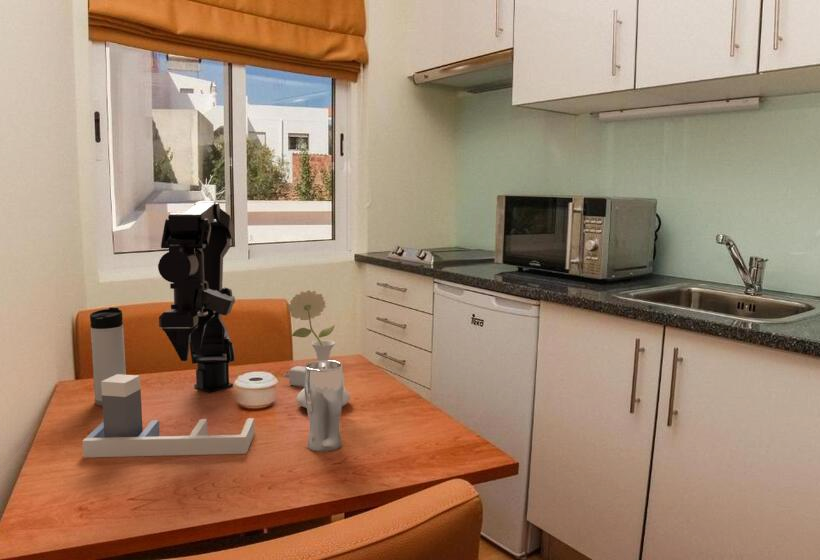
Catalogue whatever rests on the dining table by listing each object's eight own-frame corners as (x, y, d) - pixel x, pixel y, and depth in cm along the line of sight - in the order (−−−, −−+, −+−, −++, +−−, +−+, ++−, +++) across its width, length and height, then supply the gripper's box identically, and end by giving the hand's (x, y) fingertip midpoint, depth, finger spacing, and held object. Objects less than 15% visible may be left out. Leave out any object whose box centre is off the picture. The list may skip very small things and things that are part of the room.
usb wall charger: (305, 388, 147) (305, 371, 146) (280, 384, 149) (279, 368, 149) (314, 383, 150) (314, 367, 150) (289, 380, 153) (288, 364, 152)
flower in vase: (351, 397, 141) (351, 286, 137) (348, 415, 129) (348, 295, 126) (293, 397, 140) (291, 285, 137) (284, 415, 129) (282, 294, 125)
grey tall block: (120, 437, 116) (117, 374, 114) (143, 439, 115) (139, 375, 113) (105, 447, 111) (101, 381, 110) (128, 449, 111) (124, 383, 109)
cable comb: (254, 433, 119) (254, 418, 119) (246, 453, 110) (246, 437, 110) (104, 436, 117) (103, 421, 116) (83, 457, 108) (82, 440, 107)
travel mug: (133, 397, 139) (129, 307, 136) (117, 407, 132) (111, 313, 130) (106, 395, 139) (101, 306, 137) (88, 405, 133) (82, 312, 130)
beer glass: (350, 440, 116) (350, 361, 114) (333, 455, 110) (333, 372, 108) (316, 435, 119) (315, 358, 116) (298, 449, 112) (296, 368, 110)
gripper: (219, 282, 114) (221, 366, 116) (240, 272, 133) (241, 345, 135) (156, 282, 114) (159, 367, 115) (186, 272, 132) (188, 345, 134)
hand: (191, 355), depth 125 cm, fingers open, 9 cm apart
